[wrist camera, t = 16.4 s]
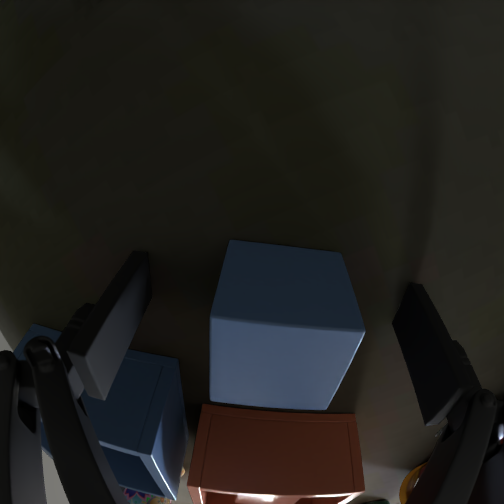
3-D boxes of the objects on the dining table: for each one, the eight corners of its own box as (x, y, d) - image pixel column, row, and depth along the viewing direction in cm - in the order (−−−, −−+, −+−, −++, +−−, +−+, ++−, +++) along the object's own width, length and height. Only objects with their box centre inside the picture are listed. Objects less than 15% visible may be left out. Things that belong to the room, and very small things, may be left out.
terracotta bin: (205, 456, 26) (196, 512, 21) (202, 402, 21) (186, 485, 15) (316, 463, 26) (318, 519, 21) (355, 413, 20) (365, 491, 15)
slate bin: (77, 405, 24) (53, 460, 18) (33, 322, 18) (-12, 390, 12) (189, 435, 24) (176, 500, 18) (178, 358, 18) (151, 455, 12)
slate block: (224, 322, 16) (209, 401, 12) (229, 238, 14) (208, 316, 9) (317, 331, 16) (326, 410, 12) (341, 252, 14) (367, 331, 9)
